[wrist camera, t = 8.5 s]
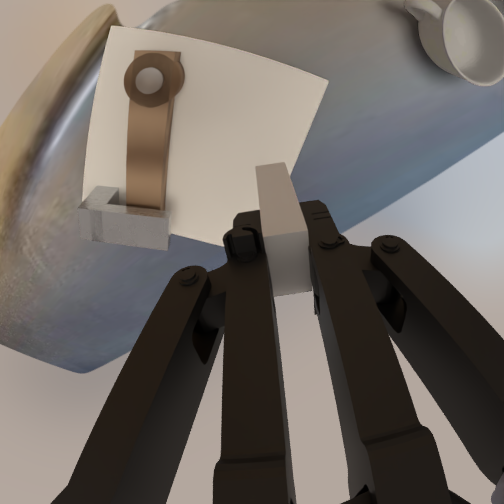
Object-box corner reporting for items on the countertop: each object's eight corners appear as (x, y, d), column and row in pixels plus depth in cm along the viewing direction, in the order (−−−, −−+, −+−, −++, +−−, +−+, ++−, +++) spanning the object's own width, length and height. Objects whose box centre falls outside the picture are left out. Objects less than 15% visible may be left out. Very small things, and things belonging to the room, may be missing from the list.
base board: (116, 26, 25) (111, 25, 24) (325, 79, 30) (329, 80, 29) (86, 205, 38) (81, 210, 37) (256, 248, 43) (256, 254, 42)
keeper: (101, 180, 36) (77, 208, 30) (180, 188, 38) (169, 218, 32) (102, 208, 39) (80, 238, 33) (178, 217, 40) (167, 250, 34)
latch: (136, 50, 26) (124, 50, 23) (188, 52, 27) (182, 52, 24) (127, 221, 38) (118, 238, 35) (170, 227, 39) (164, 244, 36)
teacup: (483, 33, 24) (524, 39, 18) (455, 92, 30) (494, 106, 24) (404, -35, 21) (439, -47, 14) (370, 28, 27) (403, 24, 20)
